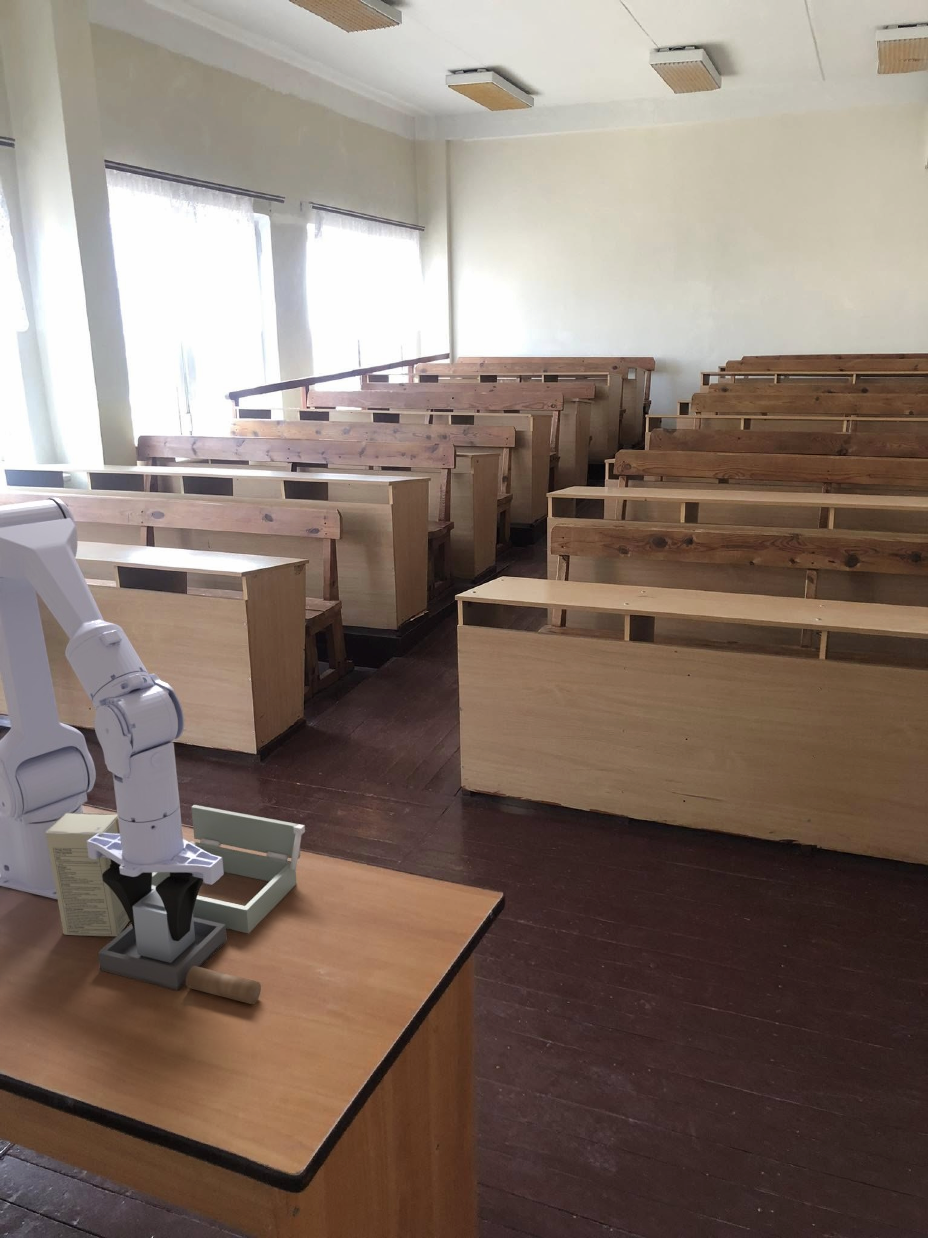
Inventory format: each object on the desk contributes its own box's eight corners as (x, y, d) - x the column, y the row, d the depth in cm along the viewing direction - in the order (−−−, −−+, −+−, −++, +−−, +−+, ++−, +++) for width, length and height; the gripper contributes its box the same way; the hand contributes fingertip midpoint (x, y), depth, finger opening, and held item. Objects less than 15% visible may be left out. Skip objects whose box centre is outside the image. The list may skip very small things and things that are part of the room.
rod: (186, 992, 89) (184, 974, 89) (199, 979, 91) (197, 961, 90) (250, 1009, 87) (248, 991, 86) (261, 995, 89) (260, 977, 88)
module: (137, 954, 94) (131, 900, 92) (162, 932, 97) (157, 879, 96) (171, 963, 92) (165, 908, 91) (195, 940, 96) (190, 886, 94)
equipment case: (138, 907, 103) (131, 851, 101) (199, 857, 113) (194, 804, 111) (255, 935, 98) (250, 876, 96) (307, 879, 108) (304, 825, 106)
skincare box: (136, 914, 101) (124, 813, 98) (118, 939, 97) (104, 833, 94) (79, 911, 102) (65, 810, 99) (59, 935, 98) (44, 831, 95)
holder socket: (100, 970, 92) (97, 952, 92) (153, 923, 100) (151, 907, 99) (178, 990, 89) (176, 973, 89) (226, 941, 97) (225, 924, 96)
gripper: (58, 815, 89) (75, 938, 93) (186, 841, 84) (199, 970, 88) (109, 783, 95) (123, 900, 99) (231, 806, 90) (241, 927, 94)
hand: (162, 930), depth 94 cm, fingers closed on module, 4 cm apart
